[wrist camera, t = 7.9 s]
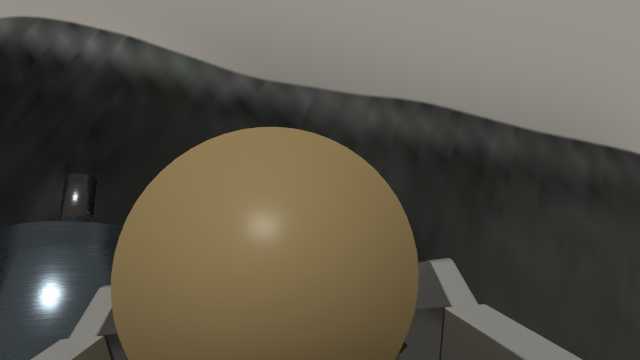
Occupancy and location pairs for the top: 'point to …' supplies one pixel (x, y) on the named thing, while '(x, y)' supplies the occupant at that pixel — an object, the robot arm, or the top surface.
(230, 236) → the tan knob head
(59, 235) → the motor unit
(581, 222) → the top surface
